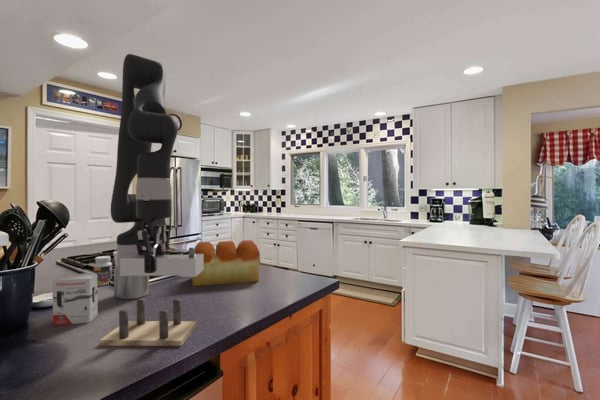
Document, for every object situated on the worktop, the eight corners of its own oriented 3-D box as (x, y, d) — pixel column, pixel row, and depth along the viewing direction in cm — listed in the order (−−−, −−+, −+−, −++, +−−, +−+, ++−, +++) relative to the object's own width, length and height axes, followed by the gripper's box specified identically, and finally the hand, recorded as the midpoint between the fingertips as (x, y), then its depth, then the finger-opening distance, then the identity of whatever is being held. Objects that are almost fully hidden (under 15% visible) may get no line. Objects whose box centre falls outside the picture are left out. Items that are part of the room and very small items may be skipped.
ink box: (51, 326, 76) (51, 279, 76) (62, 318, 81) (62, 274, 80) (90, 322, 78) (89, 277, 78) (98, 315, 83) (98, 272, 82)
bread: (256, 273, 127) (256, 238, 127) (260, 281, 115) (260, 243, 115) (193, 277, 121) (193, 240, 120) (191, 286, 109) (191, 246, 108)
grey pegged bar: (117, 276, 68) (117, 250, 68) (132, 270, 74) (131, 246, 74) (195, 276, 68) (195, 250, 68) (203, 270, 74) (203, 245, 74)
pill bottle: (92, 287, 107) (92, 259, 107) (94, 282, 112) (94, 256, 112) (111, 284, 110) (111, 257, 110) (112, 280, 115) (112, 255, 115)
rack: (99, 345, 66) (99, 313, 66) (126, 325, 76) (126, 297, 76) (181, 345, 66) (181, 313, 66) (197, 326, 76) (197, 297, 76)
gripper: (152, 197, 78) (152, 263, 78) (120, 198, 64) (121, 278, 64) (181, 197, 78) (181, 263, 78) (156, 198, 64) (156, 278, 64)
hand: (154, 269), depth 71 cm, fingers closed on grey pegged bar, 4 cm apart
